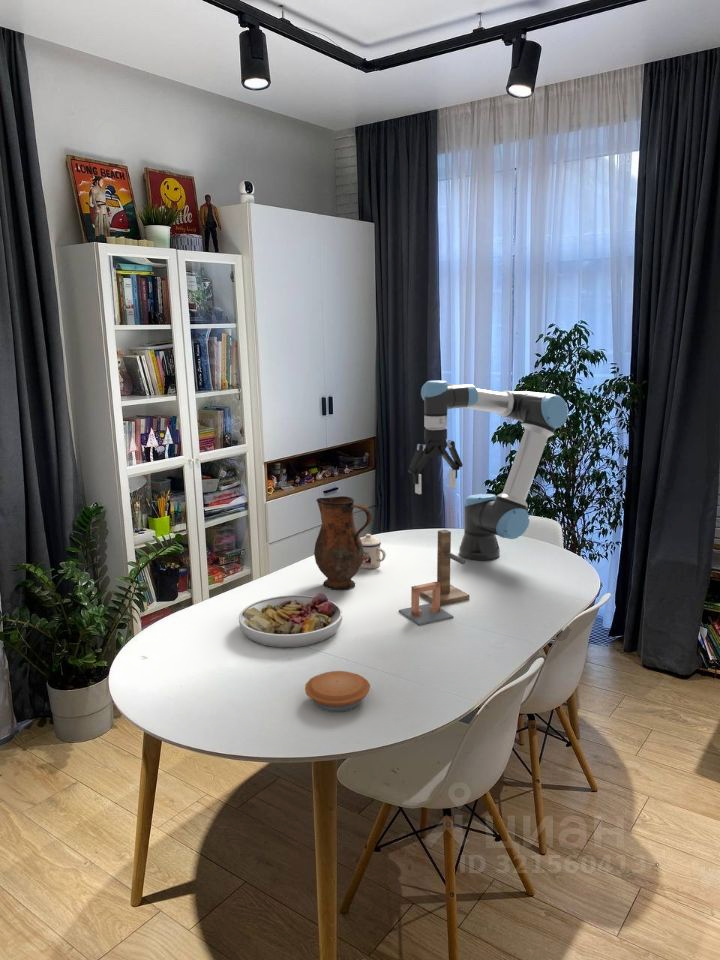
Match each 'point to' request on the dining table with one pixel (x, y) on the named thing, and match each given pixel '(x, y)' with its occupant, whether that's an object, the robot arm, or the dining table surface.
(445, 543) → the hook stand
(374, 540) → the teacup with lid
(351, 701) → the pie
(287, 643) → the bowl
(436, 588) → the c link
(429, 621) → the coaster
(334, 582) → the pitcher
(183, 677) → the dining table surface
